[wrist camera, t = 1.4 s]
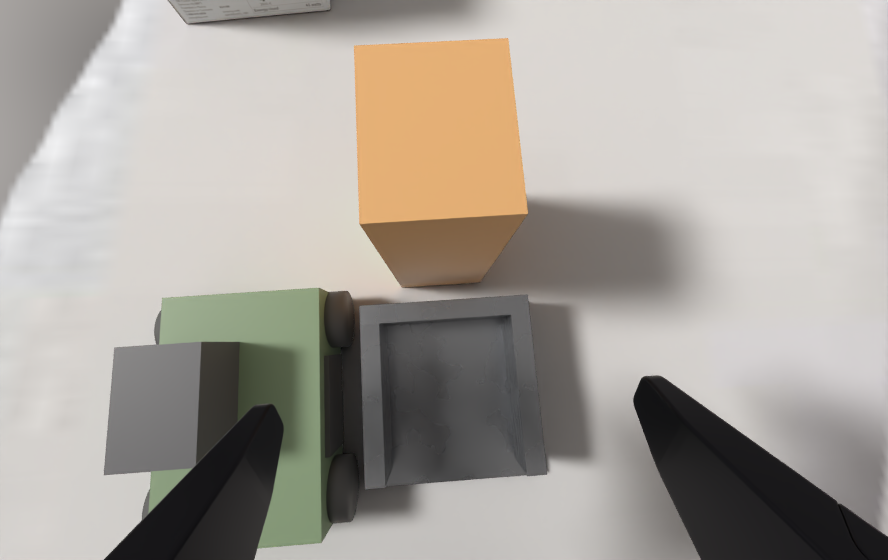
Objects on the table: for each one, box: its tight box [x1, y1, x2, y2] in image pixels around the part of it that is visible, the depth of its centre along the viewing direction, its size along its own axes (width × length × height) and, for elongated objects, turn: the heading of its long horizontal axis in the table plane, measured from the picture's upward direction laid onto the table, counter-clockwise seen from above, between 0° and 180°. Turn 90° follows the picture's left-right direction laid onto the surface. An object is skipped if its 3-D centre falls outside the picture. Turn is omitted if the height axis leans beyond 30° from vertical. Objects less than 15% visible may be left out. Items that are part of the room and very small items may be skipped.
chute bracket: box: [359, 295, 547, 489], centre depth 20 cm, size 10×10×4 cm
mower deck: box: [104, 288, 359, 548], centre depth 18 cm, size 12×10×7 cm
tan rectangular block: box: [354, 38, 528, 287], centre depth 17 cm, size 6×5×12 cm
